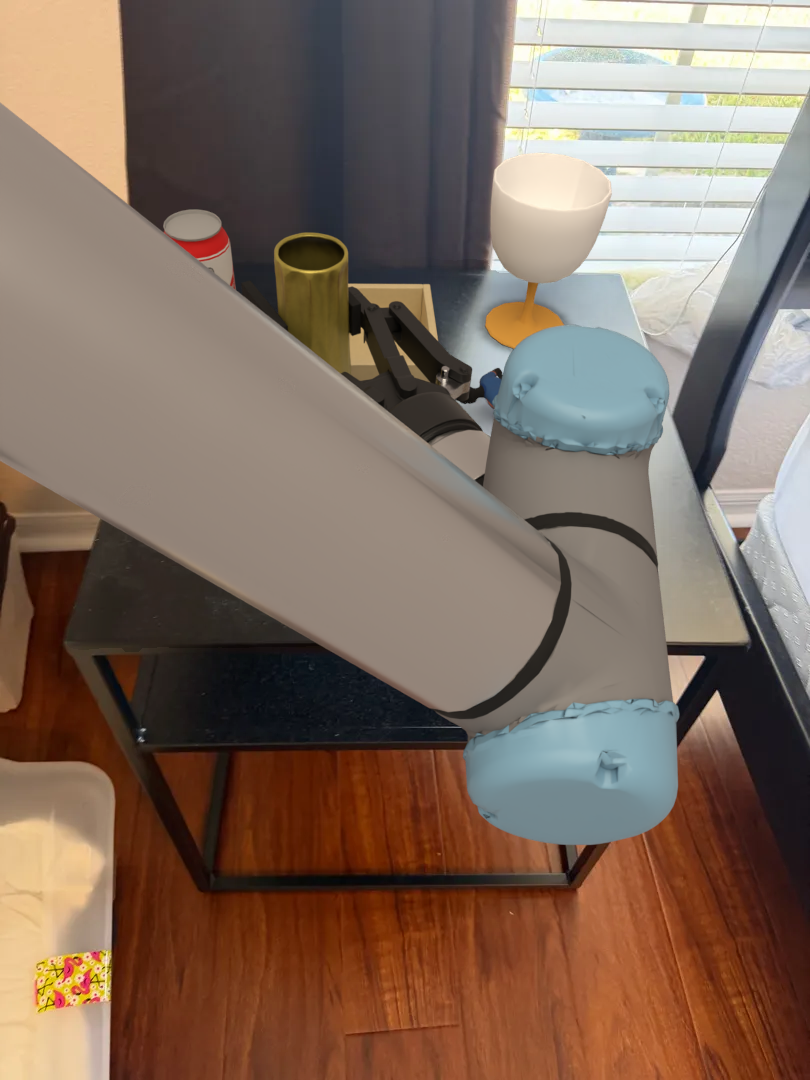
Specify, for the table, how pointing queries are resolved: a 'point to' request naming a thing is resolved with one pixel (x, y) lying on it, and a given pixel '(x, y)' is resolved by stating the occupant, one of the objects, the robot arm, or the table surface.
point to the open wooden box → (383, 295)
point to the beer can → (203, 240)
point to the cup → (542, 231)
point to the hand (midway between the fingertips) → (283, 287)
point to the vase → (315, 294)
